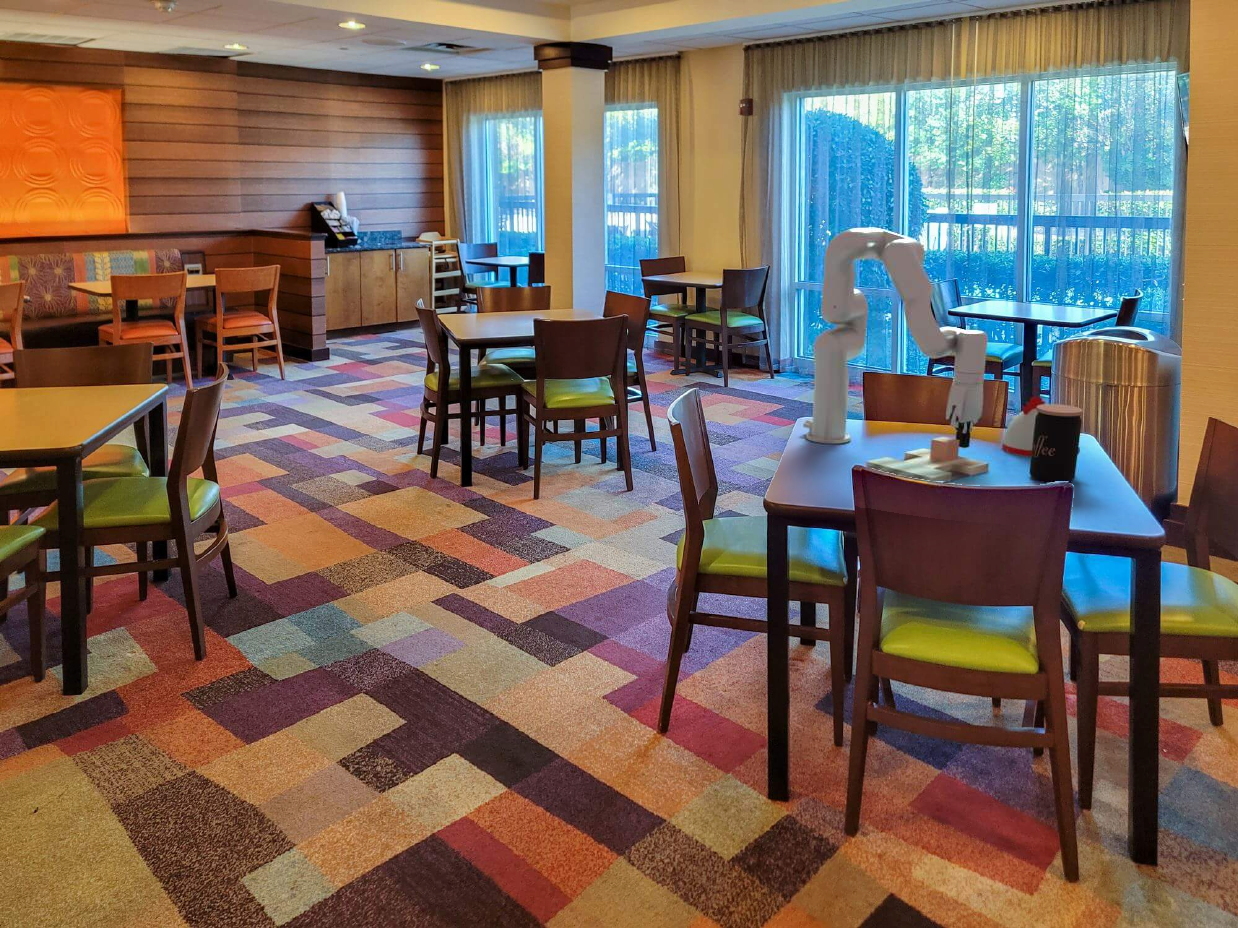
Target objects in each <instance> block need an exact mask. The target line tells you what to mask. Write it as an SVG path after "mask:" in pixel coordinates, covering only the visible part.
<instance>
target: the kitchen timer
mask: <svg viewBox="0 0 1238 928" xmlns="http://www.w3.org/2000/svg"><path fill="white" fill-rule="evenodd" d="M1025 404H1026V406H1022V411H1021V412H1019V413H1018V414H1017V415H1016V416H1015V417H1014V418H1013V419H1012V420H1011V422H1009V423H1007V425H1006V431H1005V433H1004V436H1003V439H1002V444H1001V445H1002V446H1001V448H1002V450H1003V451H1005V452H1006V453H1010V454H1014V455H1020V456H1025V457H1031V453H1032V444H1033V435H1034V426H1035V417H1036V415H1037V414H1038V412H1037V406H1038V405H1043V404H1046V400H1043V397H1041V396H1038V397H1036V396H1034V397H1030V400H1029V401H1026V402H1025Z"/></svg>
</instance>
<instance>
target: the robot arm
mask: <svg viewBox="0 0 1238 928" xmlns="http://www.w3.org/2000/svg"><path fill="white" fill-rule="evenodd" d="M925 259H926V252H925V248H924V246H923V245H922V244H921V242H920V241H918V240H916V239H915V238H912V237H909V236H905V235H901V234H898V233H895V232H892V231H889V230H887V229H882V228H878V227H856V228H849V229H847V230H844V231H842V232H840V233H837V234H836V235H835V236H834V237H833V238H832V239H831V240H830V242H829V243H828V245H827V247H826V249H825V255H824V272H823V273H824V274H823V275H824V276H823V282H822V284H823V285H822V294H821V305H820V306H821V309H820V310H821V311H820V313H821V316H822V319H823V320H824V321H825V322H826V323H827V324H830V325H835V326H834V328H832V329H827V330H825V331H823V332H821V333H820V334H819V335H817V337H816V338H815V340H814V343H813V349H812V350H813V361H814V382H813V383H814V387H813V404H812V405H813V406H812V420H809V419H807V420H806V421H805V422H804V423H803V425H802V426H803V428H804V429H805V428H806V429H808V432H807V433H806V435H805V436H806V437H805V438H806V439H807V440H809V441H811V442H814V443H819V444H820V443H821V444H832V445H833V444H844V443H849V442H850V441H851V440H852V437H851V435H850V434H849V433H846V432H847V418H848V417H847V416H848V400H849V388H850V387H849V385H850V384H849V383H850V376H849V372H850V371H849V366H848V361H850V360H853V359H855V358H857V357H858V356H860V355H861V354H862V352H863V350H864V347H865V344H866V337H867V336H866V335H867V326H868V312H869V305H868V301H867V298H866V296H865V295H864V293H863V292H862V291H861V290H859V289H857V288H855V281H856V269H855V266H854V263H855V262H856V261H861V260H862V261H863V260H865V261H866V260H874V261H878V262H882V264H883V266H884V269H885V270H886V272H887V275H888V276H889V278H890V279H891V281H892V284H893V285H894V287H895V289H896V290H897V293H898V294H899V296H900V299H901V301H902V303H903V311H904V315H905V316H904V317H905V321H906V322H905V323H906V326H907V328H908V331H909V333H910V335H911V337H912V339H913V341H914V343H915V345H916V346H917V348H918V349H919V351H920V352H921V353H922V354H923V355H924V356H925V357H927V358H930V359H939V358H942V357H943V358H944V357H947V356H951V355H954V356H955V357H954V369H953V379H952V384H951V386H950V389H949V394H948V398H947V404H946V413H945V414H946V415H945V419H946V420H947V421H951V422H950V427H952V428H954V430H955V432H956V434H955V439H957V440H959V448H963V449H966V448H969V447H970V443H971V442H970V441H971V433H972V431H973V426H974V425H975V424H977V423H979V419H980V418H982V414H983V406H984V379H985V370H986V369H985V368H986V361H987V358H986V357H987V349H988V348H987V347H988V338H989V337H988V334H987V333H986V332H985V331H983V330H976V329H967V330H966V329H962V328H959V327H958V328H957V327H954V326H942V327H940V326H939V324H938V322H937V320H936V319H935V317H934V314H933V311H932V306H931V300H932V295H933V293H934V286H933V283H932V282H931V280H930V277H929V276H928V275H927V272H926V271H925V269H924V266H923V263H924V261H925Z"/></svg>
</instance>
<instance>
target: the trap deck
mask: <svg viewBox="0 0 1238 928" xmlns="http://www.w3.org/2000/svg"><path fill="white" fill-rule="evenodd" d="M930 451H931V449H927V448H923V447H922V448H918V449H914V450H911V451H905V452H904V458H903V459H896V458H892V457H888V456H884V457H880V458H875V459H871V460H867V461H866V463H865V468H866V467H868V468H874V469H876V470H881V471H883V472H889V473H894V474H896V475H901V476H905V477H912V478H918V479H924V480H930V481H948V482H952V481H955V480H960V479H962V478H967V477H970V476H974V475H977V474H981V473H985V472H989V465H990V464H989V462H985V461H981V460H976V459H974V458H973V459H971V458H969V457H968V458H967V457H963V456H959V455H958V459H955V460H951V461H947V462H946V461H941V460H937V459H933V458H930ZM951 480H952V481H951Z"/></svg>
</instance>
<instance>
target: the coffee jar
mask: <svg viewBox="0 0 1238 928" xmlns="http://www.w3.org/2000/svg"><path fill="white" fill-rule="evenodd" d="M1037 412H1038V414H1037V415H1036V417H1035V426H1034V435H1033V444H1032V453H1031V456H1030V462H1029V472H1028V473H1029V475H1030V477H1031V478H1032V479H1033V480H1034V481H1037V480H1038V481H1037V482H1042V483H1045V484H1047V483H1046V482H1055V481H1069V482H1070V483H1071V482H1072V481H1073V480H1074V479H1075V477H1076V470H1077V462H1078V455H1079V454H1078V447H1079V445H1080V437H1081V431H1082V422H1083V421H1082V418H1081V416H1082V415H1083V413H1084V409H1082V408H1080V407H1077V406H1073V405H1067V404H1057V403H1054V404H1053V403H1045V404H1043V405H1038V406H1037ZM1079 448H1080V447H1079Z"/></svg>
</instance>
